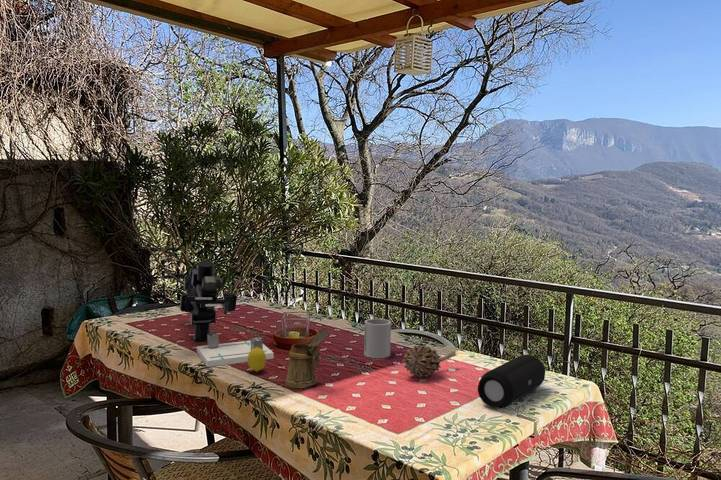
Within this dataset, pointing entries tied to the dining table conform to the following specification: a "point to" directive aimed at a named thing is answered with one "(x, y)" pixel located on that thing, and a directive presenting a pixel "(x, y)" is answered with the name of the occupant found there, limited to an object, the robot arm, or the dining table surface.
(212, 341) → the fader
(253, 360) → the lemon
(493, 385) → the portable speaker
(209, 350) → the slotted white panel
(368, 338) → the cup
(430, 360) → the pine cone
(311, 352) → the wooden mug
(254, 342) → the fader
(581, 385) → the dining table surface
